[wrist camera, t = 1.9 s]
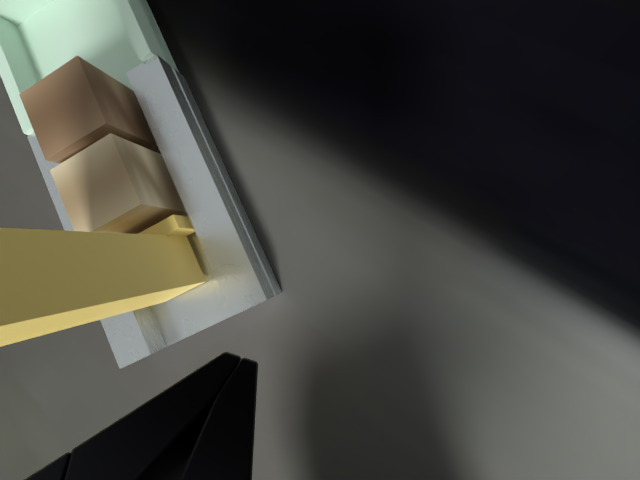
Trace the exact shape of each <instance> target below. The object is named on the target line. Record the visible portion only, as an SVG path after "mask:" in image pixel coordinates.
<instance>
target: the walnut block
mask: <svg viewBox="0 0 640 480" xmlns="http://www.w3.org/2000/svg"><path fill="white" fill-rule="evenodd" d="M19 95H20V98H21V100H22V103H23V105H24V108H25V110H26V113H27V115H28V118H29V120H30V123H31V125H32V128H33V130H34V133H35V135H36V138H37V140H38V143H39V145H40V148H41V150H42V153H43V155H44V158H45V160H46V161H50V162H54V163H58V164H61V163H62V162H64V161H66V160H67V159H69V158H71V157H72V156H74V155H76V154H77V153H79V152H81V151H82V150H84V149H85V148H87V147H89V146H90V145H92V144H94V143H95V142H97V141H99V140H100V139H102V138H103V137H105V136H107V135H108V134H110V133H111V134H114V135H116V136H119V137H121V138H123V139H126V140H128V141H130V142H133V143H135V144H138V145H140V146H142V147H145V148H147V149H150V150H153V149H155V148H157V147H158V145H157V143H156V141H155V138H154V136H153V134H152V132H151V129H150V127H149V125H148V122H147V120H146V118H145V116H144V113H143V111H142V109H141V106H140V104H139V102H138V100H137V97H136V95H135V93H134V91H133V90H131V89H130V88H128V87H127V86H125V85H123V84H122V83H120V82H119V81H117V80H116V79H114V78H112V77H111V76H109V75H108V74H106V73H104V72H103V71H101V70H100V69H98V68H97V67H95V66H93V65H92V64H90V63H89V62H87V61H85V60H84V59H82V58H81V57H79V56H78V55H77V56H76V57H74V58H73V59H71V60H70V61H68V62H67V63H65V64H64V65H62V66H61V67H59V68H58V69H56V70H55V71H53V72H52V73H50V74H49V75H47V76H46V77H44V78H43V79H41V80H40V81H38V82H37V83H35V84H34V85H32V86H31V87H29V88H28V89H26V90H25V91H23V92H22V93H20V94H19Z"/></svg>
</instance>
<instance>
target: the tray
mask: <svg viewBox="0 0 640 480" xmlns="http://www.w3.org/2000/svg"><path fill="white" fill-rule="evenodd" d="M155 54H157V55H158V56H160V57H161V58H162V59H163V60H164V61H165V62H167V63H168V64H169V65H170V66H171V67H172V68H175V69H176V70H177V71H178V69H177V67H176V64H175V62H174V60H173V58H172V56H171V53H170V51H169V49H168V47H167V45H166V42H165V40H164V38H163V36H162V34H161V31H160V29H159V27H158V25H157V23H156V20H155V18H154V16H153V14H152V12H151V9H150V7H149V5H148V3H147V1H146V0H0V75H1V78H2V80H3V83H4V85H5V88H6V90H7V93H8V95H9V98H10V100H11V103H12V105H13V108H14V110H15V113H16V115H17V118H18V120H19V123H20V125H21V128H22V130H23V133H24V134H27V135H30V134H32V133H33V132H34V130H33V128H32V125H31V123H30V120H29V118H28V115H27V113H26V110H25V108H24V105H23V103H22V100H21V98H20V95H19V94H20V93H22V92H23V91H25V90H26V89H28V88H29V87H31V86H32V85H34V84H35V83H37V82H38V81H40V80H41V79H43V78H44V77H46V76H47V75H49V74H50V73H52V72H53V71H55V70H56V69H58V68H59V67H61V66H62V65H64V64H65V63H67V62H68V61H70V60H71V59H73V58H74V57H76V56H77V55H78V56H79V57H81V58H82V59H84V60H85V61H87V62H89V63H90V64H92V65H93V66H95V67H97V68H98V69H100V70H101V71H103V72H104V73H106V74H108V75H109V76H111V77H112V78H114V79H116V80H117V81H119V82H120V83H122V84H123V85H125V86H127V87H128V88H130V89H131V90H133V88H132V86H131V84H130V81H129V79H128V77H127V74H126V73H127V72H129V71H130V70H132V69H133V68H135V67H136V66H138V65H140V64H141V63H143V62H144V61H146V60H147V59H149V58H150V57H152V56H154V55H155ZM178 72H179V71H178ZM133 91H134V90H133Z"/></svg>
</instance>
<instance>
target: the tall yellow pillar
mask: <svg viewBox="0 0 640 480" xmlns="http://www.w3.org/2000/svg"><path fill="white" fill-rule="evenodd" d="M193 232H195V230H194V228H193V225H192V223H191V221H190V219H189V217H187V216H180V215H171V216H170V217H168V218H166V219H164V220H162V221H160V222H159V223H157V224H155V225H153V226H151V227H149V228H148V229H146V230H144V231H142V232H140V233H138V234H128V233H106V232H83V231H60V230H37V229H15V228H0V347H1V346H5V345H8V344H12V343H16V342H19V341H23V340H27V339H30V338H34V337H38V336H41V335H45V334H49V333H52V332H56V331H60V330H63V329H67V328H71V327H74V326H78V325H82V324H86V323H89V322H93V321H97V320H100V319H104V318H108V317H111V316H115V315H119V314H122V313H126V312H130V311H133V310H137V309H141V308H144V307H148V306H152V305H155V304H159V303H163V302H166V301H168V300H170V299H172V298H174V297H176V296H178V295H180V294H182V293H184V292H186V291H188V290H190V289H192V288H194V287H196V286H198V285H200V284H202V283H204V282H206V280H205V277H204V275H203V273H202V270H201V268H200V266H199V264H198V261H197V259H196V257H195V254H194V252H193V250H192V247H191V245H190V243H189V240H188V238H187V236H188V235H190V234H191V233H193Z"/></svg>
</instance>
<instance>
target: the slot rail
mask: <svg viewBox="0 0 640 480" xmlns="http://www.w3.org/2000/svg"><path fill="white" fill-rule="evenodd" d="M126 74H127V77H128V79H129V81H130V84H131V86H132V88H133V90H134V93H135V95H136V97H137V100H138V102H139V104H140V106H141V109H142V111H143V113H144V116H145V118H146V120H147V122H148V125H149V127H150V129H151V132H152V134H153V136H154V138H155V141H156V143H157V145H158V147H157V148H155V149H153V150H152V151H154V152H157V153H159V154H162V157H163V159H164V161H165V164H166V166H167V168H168V170H169V173H170V175H171V177H172V180H173V182H174V184H175V187H176V189H177V191H178V193H179V196H180V198H181V200H182V203H183V205H184V207H185V209H186V213H185V214H183V215H181V216H187V217H189V219H190V221H191V223H192V225H193V228H194V230H195V232H193V233H191V234H190V235H188V236H187V238H188V240H189V243H190V245H191V247H192V250H193V252H194V254H195V257H196V259H197V261H198V264H199V266H200V268H201V270H202V273H203V275H204V277H205V280H206V282H204V283H202V284H200V285H198V286H196V287H194V288H192V289H190V290H188V291H186V292H184V293H182V294H180V295H178V296H176V297H174V298H172V299H170V300H168V301H166V302H163V303H159V304H155V305H152V306H148V307H144V308H141V309H137V310H133V311H130V312H126V313H122V314H119V315H115V316H111V317H108V318H104V319H100V320H101V323H102V325H103V328H104V330H105V333H106V335H107V338H108V341H109V343H110V346H111V348H112V351H113V353H114V356H115V358H116V361H117V363H118V366H119V368H120V369H121V368H123V367H125V366H127V365H129V364H132V363H134V362H136V361H138V360H140V359H142V358H144V357H146V356H149V355H151V354H153V353H155V352H157V351H159V350H161V349H163V348H165V347H167V346H169V345H171V344H173V343H176V342H178V341H180V340H182V339H184V338H186V337H188V336H190V335H193V334H195V333H197V332H199V331H201V330H203V329H205V328H207V327H210V326H212V325H214V324H216V323H218V322H220V321H222V320H224V319H227V318H229V317H231V316H234V315H236V314H238V313H240V312H242V311H244V310H246V309H248V308H250V307H253V306H255V305H257V304H259V303H261V302H263V301H265V300H267V299H269V298H271V297H273V296H275V295H277V294H279V293H281V292H282V291H281V288H280V286H279V284H278V282H277V280H276V277H275V275H274V273H273V271H272V269H271V266H270V264H269V262H268V260H267V258H266V255H265V253H264V251H263V249H262V247H261V244H260V242H259V240H258V238H257V236H256V233H255V231H254V229H253V227H252V225H251V222H250V220H249V218H248V216H247V214H246V211H245V209H244V207H243V205H242V203H241V200H240V198H239V196H238V194H237V192H236V189H235V187H234V185H233V183H232V181H231V178H230V176H229V174H228V172H227V170H226V167H225V165H224V163H223V161H222V159H221V156H220V154H219V152H218V150H217V148H216V145H215V143H214V141H213V139H212V137H211V134H210V132H209V130H208V128H207V126H206V123H205V121H204V119H203V117H202V115H201V112H200V110H199V108H198V106H197V104H196V101H195V99H194V97H193V95H192V93H191V90H190V88H189V86H188V84H187V82H186V79H185V77H184V76H183V75H182V74H180V73H179V72H178V71H177V70H176V69H175V68H172V67H171V66H170V65H169V64H168V63H167V62H165V61H164V60H163V59H162V58H161V57H160V56H158V55H157V54H155V55H154V56H152V57H150V58H149V59H147V60H146V61H144V62H143V63H141V64H140V65H138V66H136V67H135V68H133V69H132V70H130V71H129V72H127V73H126ZM27 137H28V140H29V142H30V145H31V147H32V150H33V152H34V155H35V157H36V160H37V162H38V165H39V167H40V170H41V172H42V175H43V177H44V180H45V182H46V185H47V187H48V190H49V192H50V195H51V198H52V200H53V203H54V205H55V208H56V210H57V213H58V215H59V218H60V220H61V223H62V225H63V228H64V230H65V231H74V229H73V227H72V225H71V222H70V220H69V217H68V215H67V212H66V210H65V207H64V205H63V202H62V200H61V197H60V195H59V192H58V190H57V187H56V185H55V182H54V180H53V177H52V175H51V172H50V170H51V169H53V168H54V167H56V166H58V165H59V164H58V163H54V162H50V161H46V160H45V158H44V155H43V153H42V150H41V148H40V145H39V143H38V140H37V138H36V135H35V133H34V132H33V133H32V134H30V135H28V136H27Z"/></svg>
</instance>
